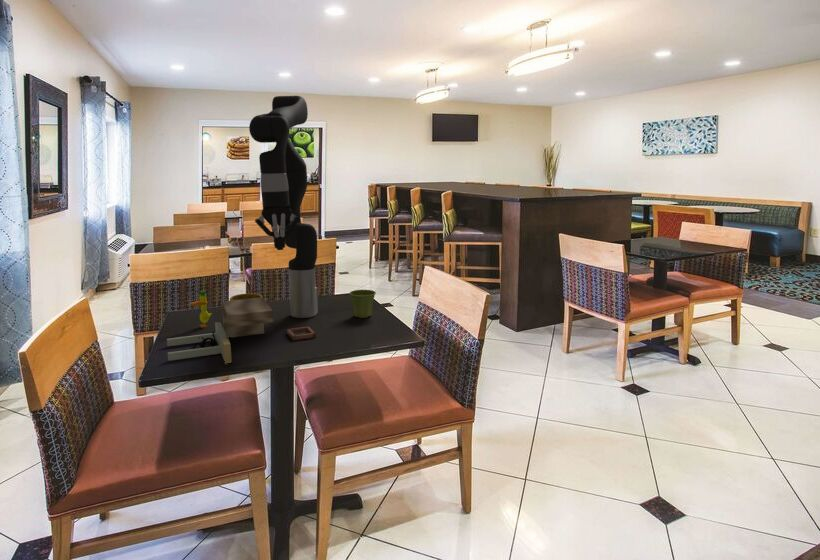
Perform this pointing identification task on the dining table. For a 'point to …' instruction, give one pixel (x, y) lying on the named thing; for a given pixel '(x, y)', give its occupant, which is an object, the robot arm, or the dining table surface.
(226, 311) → the tunnel
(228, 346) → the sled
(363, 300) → the plant pot
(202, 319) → the toy figure
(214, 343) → the creature
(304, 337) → the brown tray
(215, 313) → the dining table surface
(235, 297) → the plant pot
